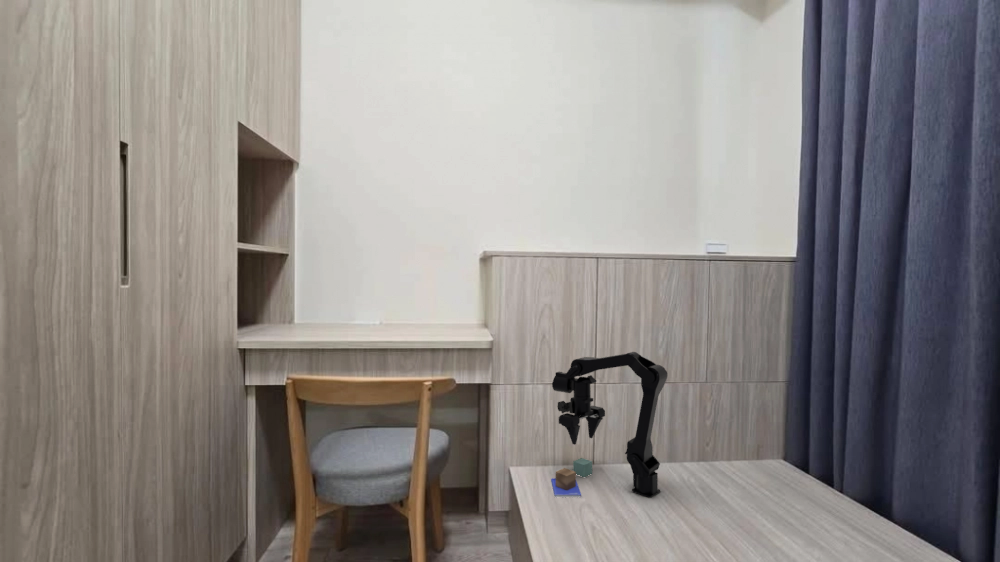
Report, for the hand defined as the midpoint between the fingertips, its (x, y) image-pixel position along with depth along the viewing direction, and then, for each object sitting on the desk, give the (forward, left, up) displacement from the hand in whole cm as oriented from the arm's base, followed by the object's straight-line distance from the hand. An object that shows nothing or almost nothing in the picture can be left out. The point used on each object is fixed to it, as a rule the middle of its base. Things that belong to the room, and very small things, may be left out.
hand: (582, 441), depth 163 cm
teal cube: (0, 0, -11) cm, 11 cm away
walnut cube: (-3, +13, -10) cm, 17 cm away
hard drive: (-3, +13, -12) cm, 18 cm away
